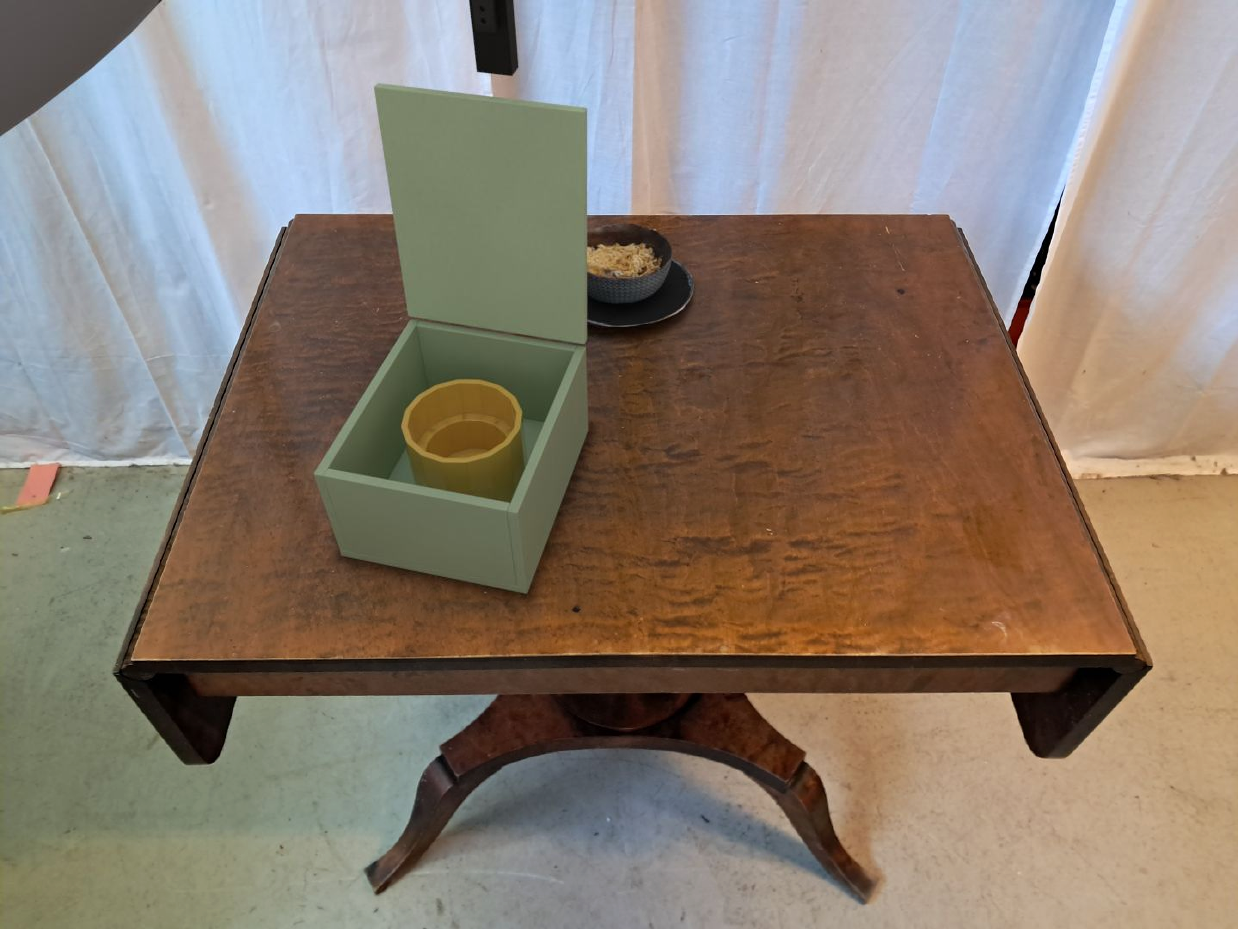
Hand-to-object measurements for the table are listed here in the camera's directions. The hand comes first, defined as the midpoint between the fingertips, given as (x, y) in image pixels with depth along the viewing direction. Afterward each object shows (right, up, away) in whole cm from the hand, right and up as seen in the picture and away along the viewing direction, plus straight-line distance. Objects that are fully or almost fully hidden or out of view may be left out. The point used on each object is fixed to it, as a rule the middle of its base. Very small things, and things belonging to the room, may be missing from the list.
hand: (497, 69), depth 69 cm
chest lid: (-1, -11, +4) cm, 11 cm away
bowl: (-4, -30, +11) cm, 33 cm away
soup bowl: (+9, -11, +31) cm, 34 cm away
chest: (-4, -31, +12) cm, 33 cm away
